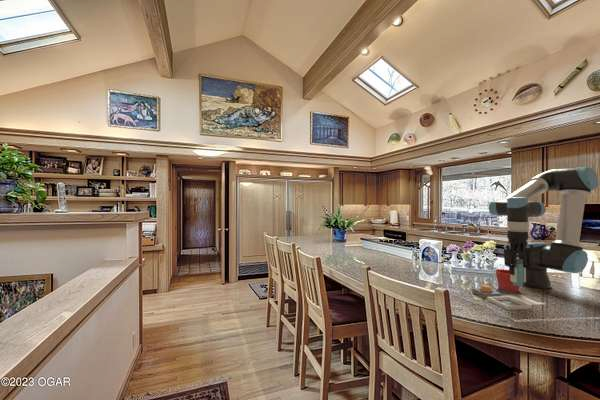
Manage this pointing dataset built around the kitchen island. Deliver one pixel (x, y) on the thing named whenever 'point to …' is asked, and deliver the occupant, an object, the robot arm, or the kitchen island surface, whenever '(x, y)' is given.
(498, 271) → the flower pot
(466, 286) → the kitchen island surface
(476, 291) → the button box
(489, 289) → the button
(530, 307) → the tray
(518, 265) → the tall green block
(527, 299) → the clipboard
